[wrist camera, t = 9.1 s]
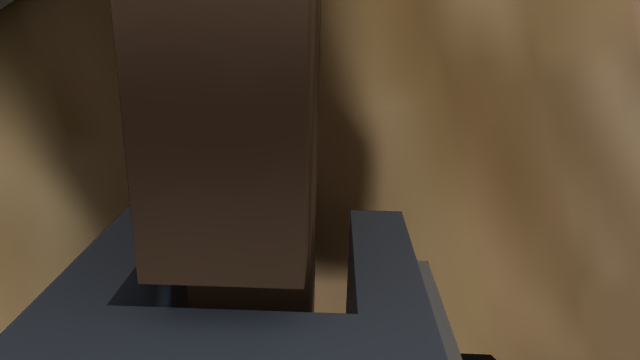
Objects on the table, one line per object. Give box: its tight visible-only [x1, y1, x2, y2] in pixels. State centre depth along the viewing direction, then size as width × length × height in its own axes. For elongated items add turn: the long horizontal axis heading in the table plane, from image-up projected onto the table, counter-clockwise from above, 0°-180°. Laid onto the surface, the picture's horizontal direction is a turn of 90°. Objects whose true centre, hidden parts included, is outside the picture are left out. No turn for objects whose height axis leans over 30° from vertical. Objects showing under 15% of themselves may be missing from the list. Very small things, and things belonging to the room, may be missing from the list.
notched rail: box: [110, 0, 321, 312], centre depth 14 cm, size 18×3×8 cm, turn 179°
